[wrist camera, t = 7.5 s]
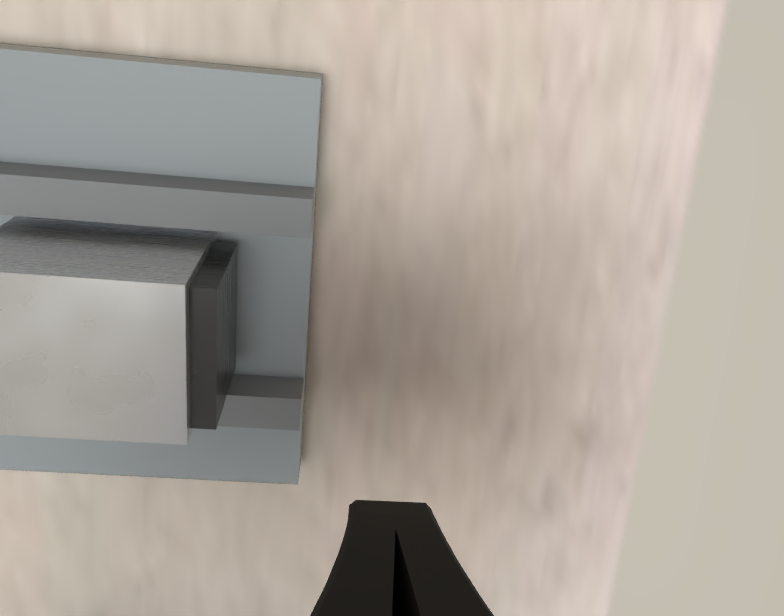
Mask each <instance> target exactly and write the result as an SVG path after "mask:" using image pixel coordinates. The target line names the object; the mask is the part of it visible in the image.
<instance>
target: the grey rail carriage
mask: <svg viewBox="0 0 784 616" xmlns="http://www.w3.org/2000/svg"><path fill="white" fill-rule="evenodd" d="M237 260H238V243H230V242H217V231H205V230H192V229H179V228H166V227H153V226H140V225H127V224H114V223H101V222H88V221H75V220H62V219H49V218H36V217H23V216H15V217H13V218H12V219H10V220H9V221H7V222H6V223H4V224H3V225H1V226H0V435H11V436H30V437H48V438H67V439H85V440H104V441H123V442H141V443H160V444H178V445H187V444H188V441H189V438H190V436H191V433H192V430H193V428H194V429H212V430H216V429H217V425H218V422H219V419H220V416H221V413H222V409H223V406H224V403H225V400H226V397H227V393H228V390H229V387H230V384H231V380H232V377H233V374H234V371H235V368H236V320H237Z"/></svg>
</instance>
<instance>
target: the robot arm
mask: <svg viewBox="0 0 784 616" xmlns="http://www.w3.org/2000/svg"><path fill="white" fill-rule="evenodd" d="M310 616H494V615H493V614H492V612H491V611H490V610H489V608H488V607H487V605H486V604H485V602H484V601H483V599H482V598H481V596H480V595H479V593H478V592H477V590H476V589H475V587H474V586H473V584H472V582H471V581H470V579H469V578H468V576H467V575H466V573H465V571H464V570H463V568H462V567H461V565H460V563H459V562H458V560H457V558H456V557H455V555H454V553H453V551H452V549H451V548H450V546H449V544H448V542H447V540H446V539H445V537H444V535H443V533H442V531H441V529H440V527H439V525H438V523H437V521H436V519H435V517H434V515H433V512H432V510H431V508H430V507H429V506H428V505H427V504H426V503H414V502H391V501H368V500H356V501H354V502H353V503H352V504H350V505H349V515H348V523H347V527H346V531H345V535H344V538H343V541H342V544H341V547H340V550H339V553H338V556H337V558H336V561H335V563H334V566H333V568H332V571H331V573H330V576H329V578H328V581H327V583H326V585H325V587H324V589H323V591H322V593H321V595H320V597H319V599H318V601H317V603H316V605H315V607H314V609H313V611H312V613H311V615H310Z"/></svg>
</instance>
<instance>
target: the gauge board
mask: <svg viewBox="0 0 784 616" xmlns="http://www.w3.org/2000/svg"><path fill="white" fill-rule="evenodd" d="M322 79H323V74H319V73H309V72H298V71H288V70H277V69H267V68H256V67H246V66H235V65H225V64H214V63H204V62H193V61H183V60H172V59H162V58H151V57H141V56H130V55H120V54H109V53H99V52H88V51H78V50H67V49H57V48H46V47H36V46H25V45H15V44H4V43H0V226H1V225H3V224H4V223H6V222H7V221H9V220H10V219H12V218H13V217H15V216H23V217H36V218H49V219H62V220H75V221H88V222H101V223H114V224H127V225H140V226H153V227H166V228H179V229H192V230H205V231H217V242H230V243H238V260H237V320H236V368H235V371H234V374H233V377H232V380H231V384H230V387H229V390H228V393H227V397H226V400H225V403H224V406H223V409H222V413H221V416H220V419H219V422H218V425H217V429H216V430H212V429H194V428H193V430H192V433H191V436H190V438H189V441H188V444H187V445H178V444H160V443H141V442H123V441H104V440H85V439H67V438H48V437H30V436H11V435H0V469H1V470H21V471H40V472H60V473H80V474H100V475H120V476H140V477H160V478H180V479H199V480H219V481H239V482H259V483H279V484H298V478H299V470H300V460H301V442H302V425H303V408H304V391H305V373H306V356H307V339H308V321H309V304H310V287H311V270H312V252H313V235H314V218H315V200H316V183H317V166H318V149H319V131H320V114H321V97H322Z"/></svg>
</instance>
